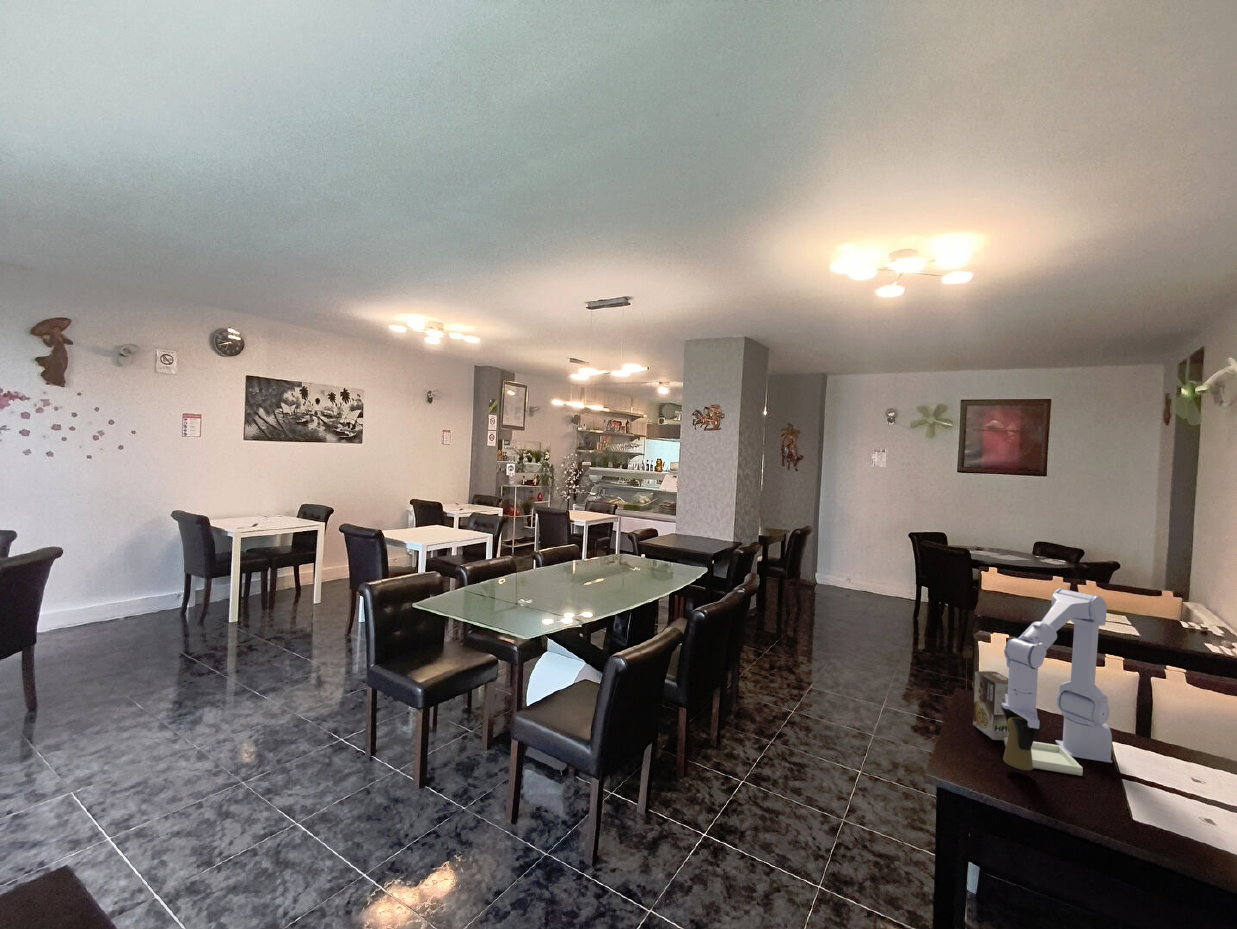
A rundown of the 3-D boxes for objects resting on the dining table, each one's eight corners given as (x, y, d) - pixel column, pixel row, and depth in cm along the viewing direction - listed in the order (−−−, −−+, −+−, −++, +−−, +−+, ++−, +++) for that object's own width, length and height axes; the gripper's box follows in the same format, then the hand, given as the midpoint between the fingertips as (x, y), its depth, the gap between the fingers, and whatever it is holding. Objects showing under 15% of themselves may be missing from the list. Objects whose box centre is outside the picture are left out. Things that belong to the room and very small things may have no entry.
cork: (1038, 771, 132) (1041, 726, 132) (1011, 768, 133) (1014, 723, 133) (1023, 758, 138) (1026, 715, 138) (997, 755, 139) (1000, 712, 139)
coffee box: (1015, 741, 152) (1018, 683, 152) (992, 740, 152) (995, 682, 152) (993, 725, 161) (996, 670, 161) (971, 724, 161) (974, 669, 161)
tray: (1060, 752, 147) (1060, 745, 147) (1082, 775, 136) (1082, 767, 136) (1004, 744, 150) (1004, 736, 150) (1021, 765, 140) (1021, 758, 140)
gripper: (992, 675, 144) (990, 726, 144) (1015, 699, 130) (1013, 755, 130) (1023, 679, 142) (1021, 731, 142) (1050, 703, 128) (1047, 761, 128)
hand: (1019, 743), depth 136 cm, fingers closed on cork, 5 cm apart
